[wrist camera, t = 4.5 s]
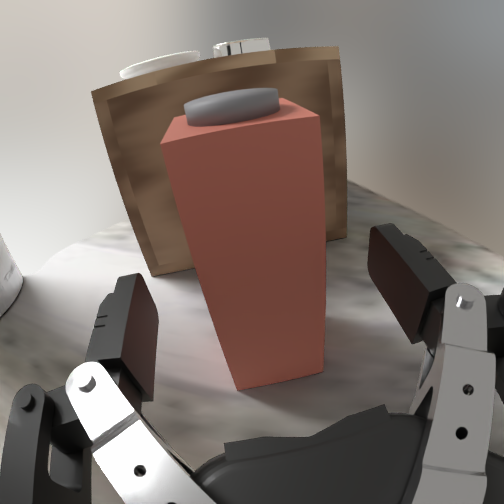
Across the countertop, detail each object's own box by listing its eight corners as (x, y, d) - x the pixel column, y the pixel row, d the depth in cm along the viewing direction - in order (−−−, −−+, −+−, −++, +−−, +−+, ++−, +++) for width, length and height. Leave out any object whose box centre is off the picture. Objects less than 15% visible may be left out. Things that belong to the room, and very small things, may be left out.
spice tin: (237, 390, 13) (154, 120, 7) (229, 328, 17) (170, 102, 10) (322, 371, 14) (317, 93, 7) (301, 312, 17) (280, 82, 10)
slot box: (151, 276, 21) (90, 91, 14) (167, 195, 33) (138, 78, 26) (346, 237, 22) (338, 46, 15) (295, 170, 33) (281, 51, 26)
